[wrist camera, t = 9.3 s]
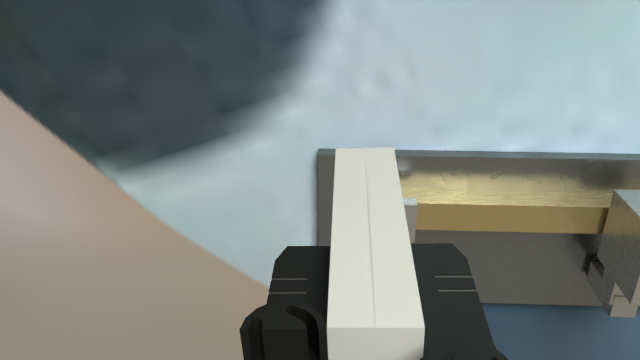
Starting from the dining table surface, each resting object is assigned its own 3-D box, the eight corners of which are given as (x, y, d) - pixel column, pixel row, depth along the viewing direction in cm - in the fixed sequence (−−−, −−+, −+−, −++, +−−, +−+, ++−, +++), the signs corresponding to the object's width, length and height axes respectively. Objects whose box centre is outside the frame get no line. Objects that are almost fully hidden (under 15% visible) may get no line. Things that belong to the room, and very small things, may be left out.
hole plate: (318, 148, 38) (318, 155, 37) (738, 155, 37) (749, 162, 36) (319, 289, 43) (318, 298, 42) (687, 300, 42) (695, 309, 41)
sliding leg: (600, 175, 37) (652, 231, 30) (647, 175, 36) (709, 232, 30) (575, 278, 40) (617, 347, 34) (618, 279, 40) (668, 349, 34)
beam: (347, 182, 38) (346, 203, 35) (722, 190, 37) (751, 212, 34) (345, 269, 41) (345, 294, 39) (691, 278, 40) (715, 305, 37)
